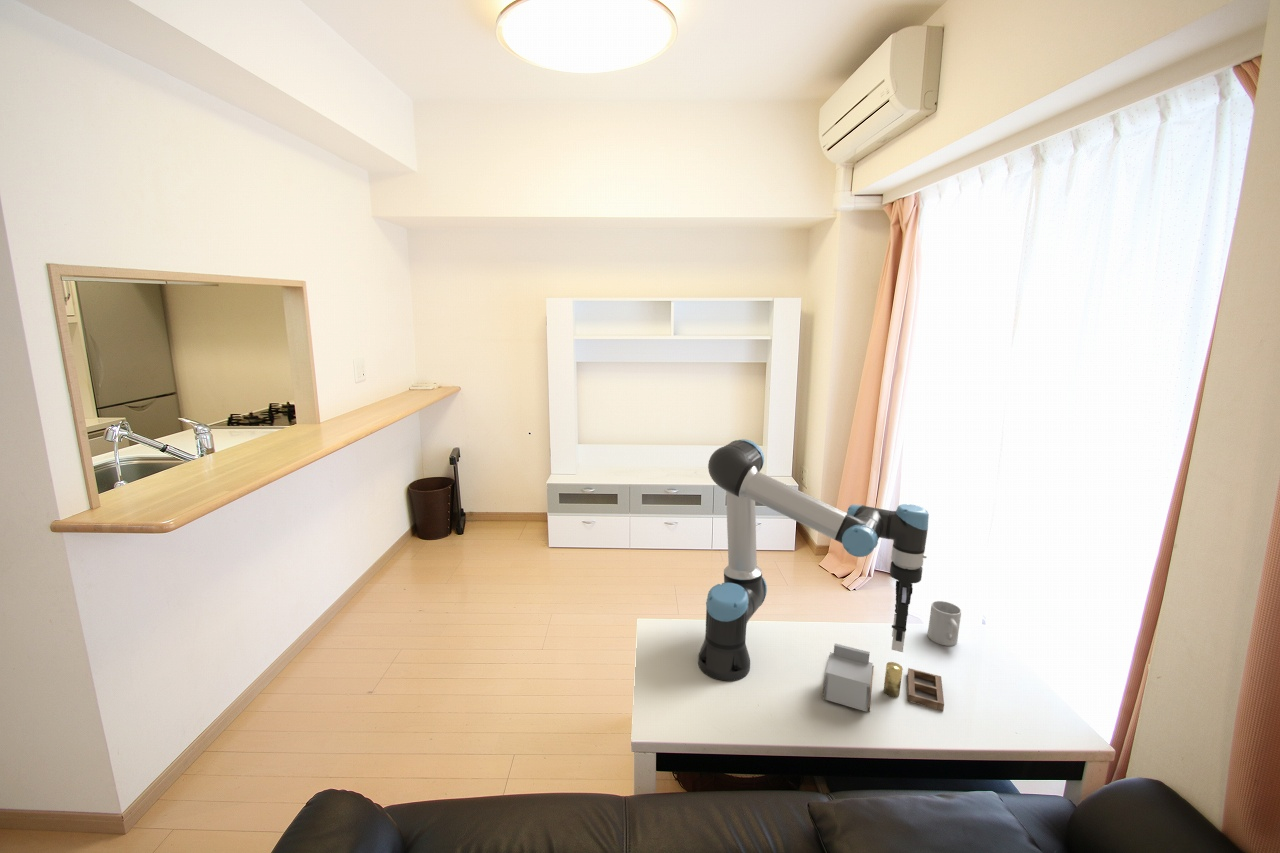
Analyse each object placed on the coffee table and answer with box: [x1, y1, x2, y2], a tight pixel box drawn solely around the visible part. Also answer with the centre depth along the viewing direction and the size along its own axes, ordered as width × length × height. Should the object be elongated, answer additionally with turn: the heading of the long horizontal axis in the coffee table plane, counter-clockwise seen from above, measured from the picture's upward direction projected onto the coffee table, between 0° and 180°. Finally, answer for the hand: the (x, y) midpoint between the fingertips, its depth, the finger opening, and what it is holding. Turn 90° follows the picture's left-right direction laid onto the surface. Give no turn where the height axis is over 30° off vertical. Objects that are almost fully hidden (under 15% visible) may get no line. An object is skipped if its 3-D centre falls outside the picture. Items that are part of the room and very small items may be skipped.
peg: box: [882, 661, 904, 699], centre depth 150 cm, size 4×4×8 cm
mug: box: [927, 600, 962, 647], centre depth 175 cm, size 12×8×11 cm
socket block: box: [907, 667, 945, 712], centre depth 151 cm, size 8×13×2 cm, turn 155°
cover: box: [822, 643, 874, 713], centre depth 147 cm, size 11×10×11 cm
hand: (897, 643), depth 148 cm, fingers open, 6 cm apart
